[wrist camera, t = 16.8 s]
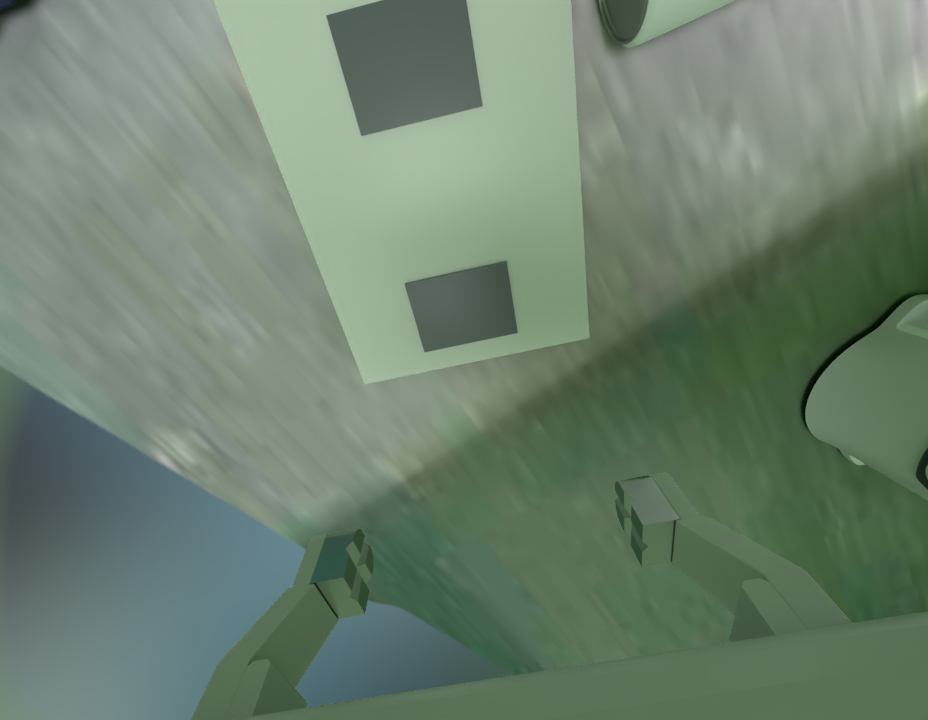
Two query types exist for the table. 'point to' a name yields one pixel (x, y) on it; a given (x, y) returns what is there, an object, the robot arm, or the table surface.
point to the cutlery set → (7, 4)
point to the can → (651, 17)
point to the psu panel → (427, 168)
